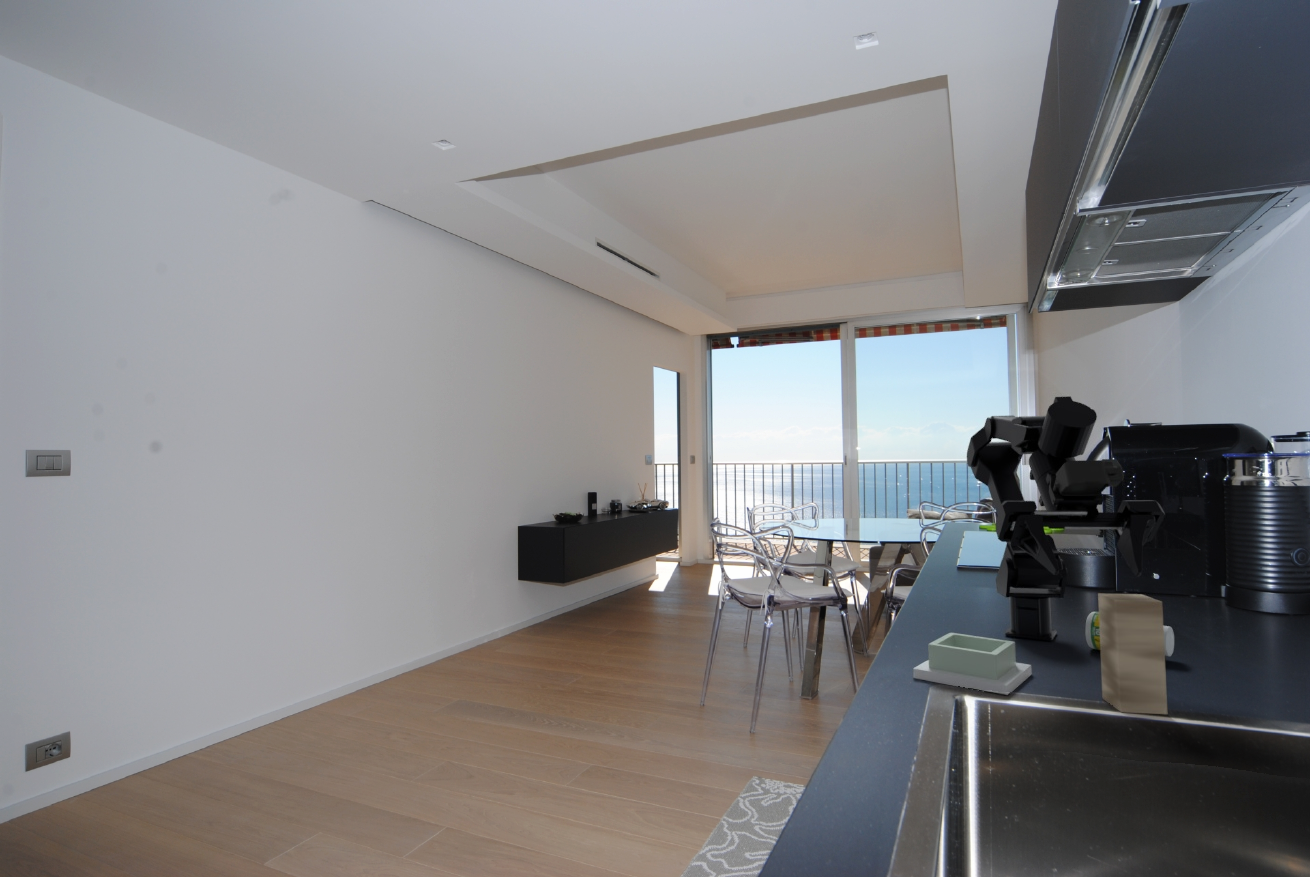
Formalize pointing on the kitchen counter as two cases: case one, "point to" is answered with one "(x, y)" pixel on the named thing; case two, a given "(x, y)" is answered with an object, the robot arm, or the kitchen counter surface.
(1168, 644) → the supplement bottle
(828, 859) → the kitchen counter surface
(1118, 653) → the brown box
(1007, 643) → the caddy
